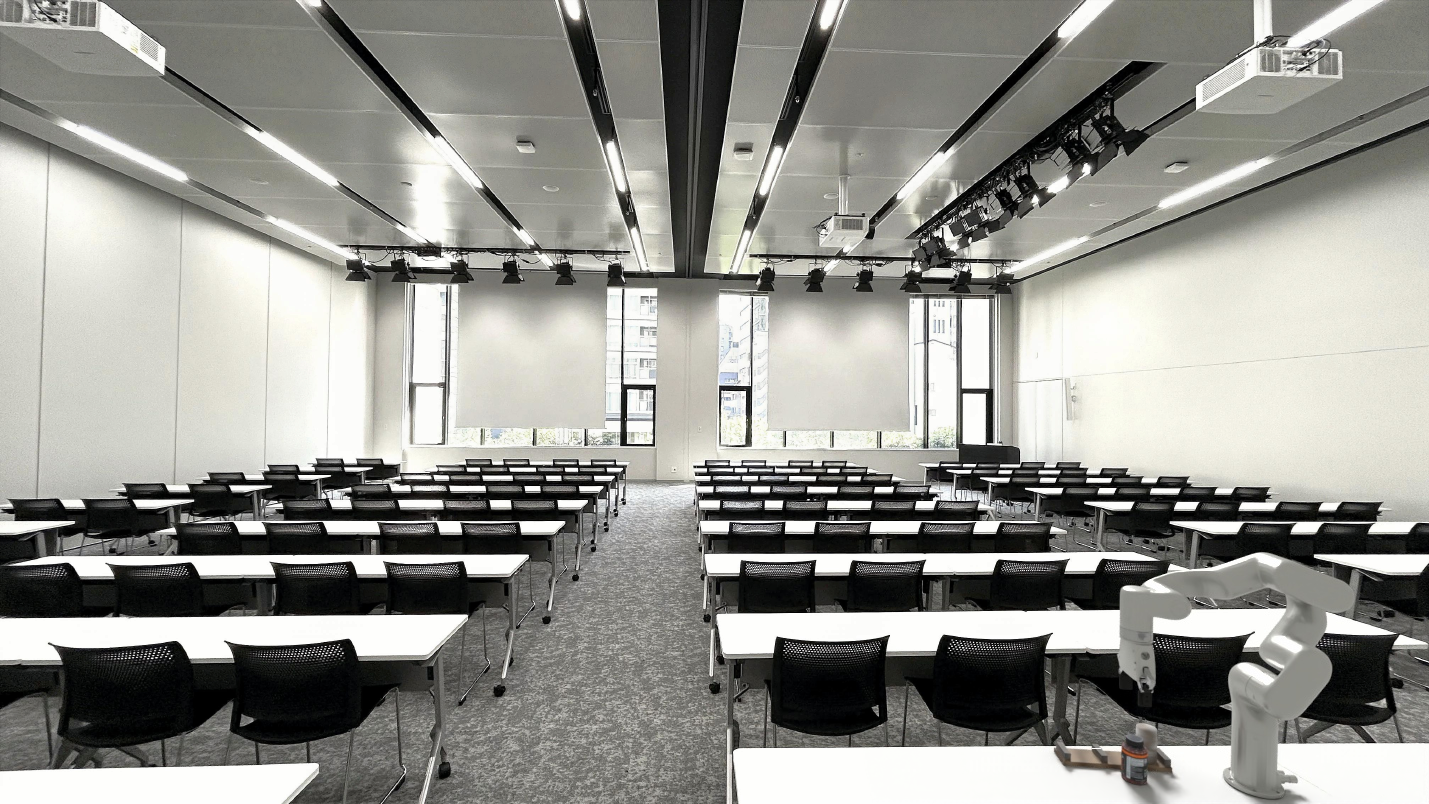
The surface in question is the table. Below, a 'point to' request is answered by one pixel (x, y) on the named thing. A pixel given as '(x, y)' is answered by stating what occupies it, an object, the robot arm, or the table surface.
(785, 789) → the table surface
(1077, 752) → the rail
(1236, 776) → the robot arm
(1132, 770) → the supplement bottle
